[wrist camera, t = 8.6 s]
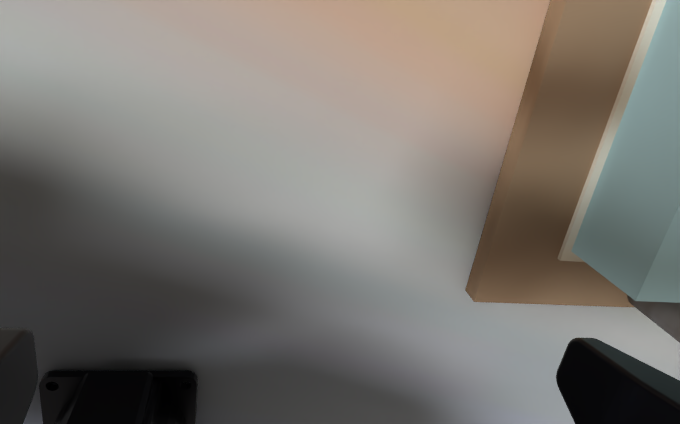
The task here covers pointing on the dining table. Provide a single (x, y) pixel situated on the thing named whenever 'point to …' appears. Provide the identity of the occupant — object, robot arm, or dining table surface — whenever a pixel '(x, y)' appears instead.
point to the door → (642, 181)
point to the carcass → (565, 160)
